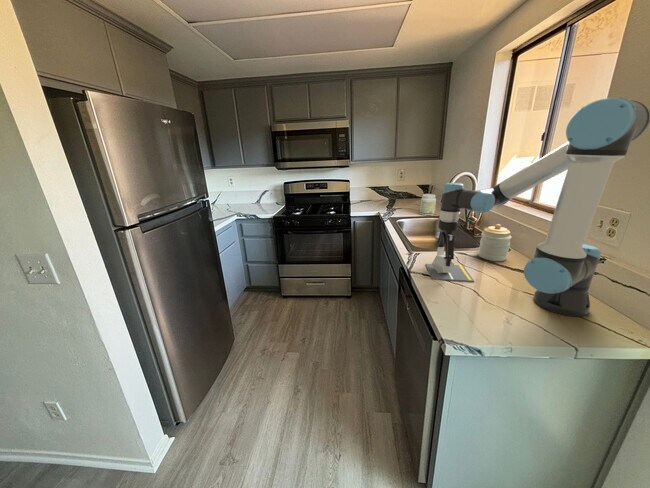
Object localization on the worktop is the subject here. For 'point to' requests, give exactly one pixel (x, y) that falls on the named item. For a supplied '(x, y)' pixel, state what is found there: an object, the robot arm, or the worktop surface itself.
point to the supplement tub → (428, 204)
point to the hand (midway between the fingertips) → (442, 265)
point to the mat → (451, 274)
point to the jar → (494, 243)
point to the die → (440, 263)
